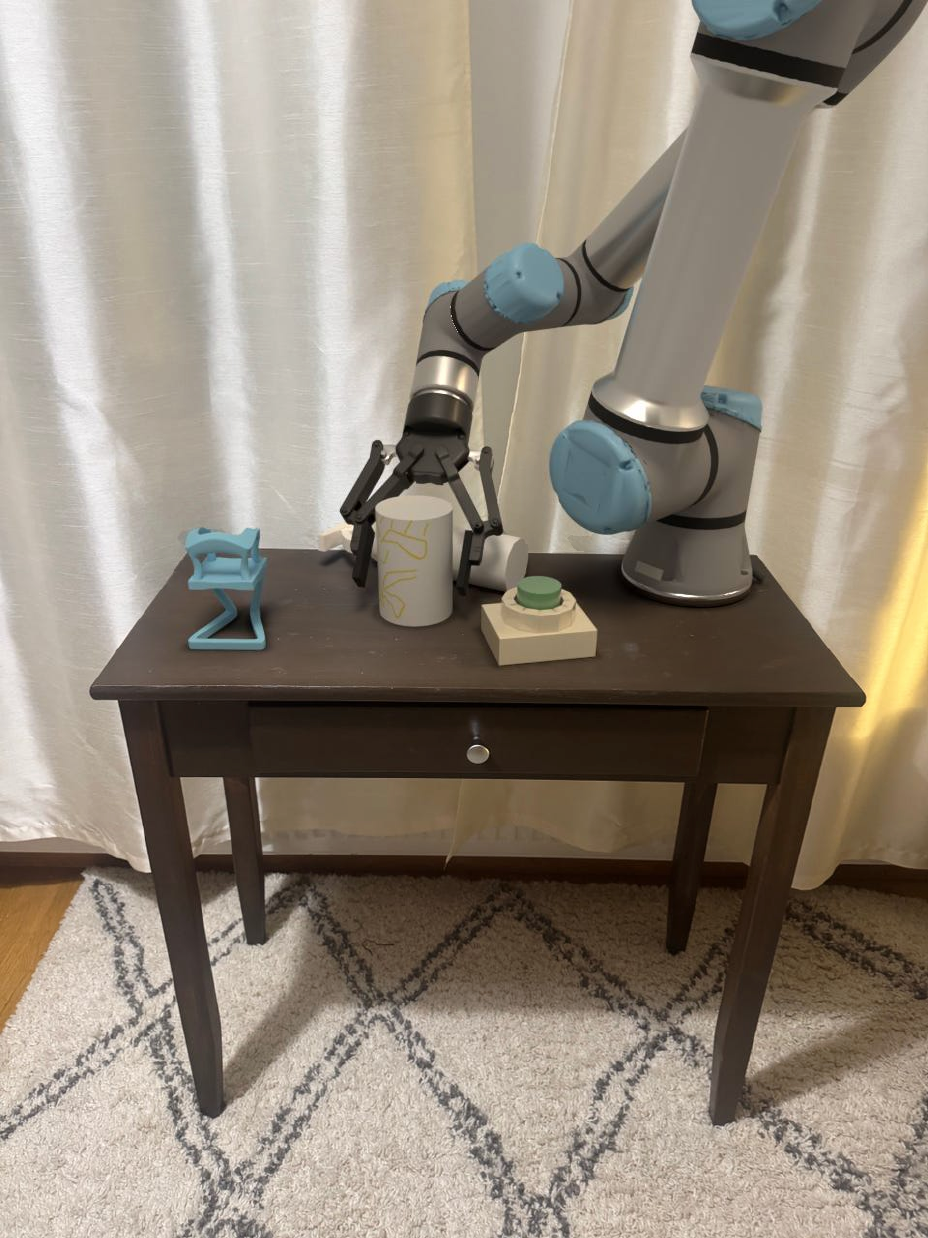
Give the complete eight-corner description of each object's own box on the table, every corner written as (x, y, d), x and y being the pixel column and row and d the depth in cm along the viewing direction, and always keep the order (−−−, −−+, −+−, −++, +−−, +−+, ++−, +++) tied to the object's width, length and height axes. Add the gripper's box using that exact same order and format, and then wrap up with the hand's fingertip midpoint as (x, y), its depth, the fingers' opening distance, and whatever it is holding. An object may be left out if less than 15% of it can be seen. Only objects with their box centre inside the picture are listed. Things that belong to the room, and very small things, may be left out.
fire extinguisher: (541, 520, 103) (365, 495, 113) (501, 548, 93) (312, 519, 103) (539, 572, 106) (367, 544, 116) (500, 605, 96) (315, 571, 106)
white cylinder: (364, 610, 95) (359, 507, 89) (416, 588, 100) (414, 490, 95) (415, 633, 90) (413, 526, 84) (467, 609, 95) (468, 506, 90)
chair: (280, 614, 94) (270, 510, 88) (264, 650, 86) (252, 539, 81) (210, 613, 94) (196, 509, 88) (188, 649, 86) (171, 538, 81)
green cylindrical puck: (553, 592, 88) (554, 574, 88) (566, 610, 85) (567, 591, 84) (511, 595, 88) (512, 577, 87) (523, 614, 84) (524, 595, 83)
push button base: (570, 622, 93) (573, 579, 90) (595, 656, 86) (599, 611, 83) (480, 629, 91) (481, 586, 88) (498, 666, 84) (500, 620, 81)
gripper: (543, 431, 99) (519, 608, 92) (352, 420, 103) (316, 590, 96) (539, 393, 92) (514, 583, 85) (335, 384, 96) (295, 564, 89)
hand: (409, 587), depth 90 cm, fingers open, 11 cm apart
